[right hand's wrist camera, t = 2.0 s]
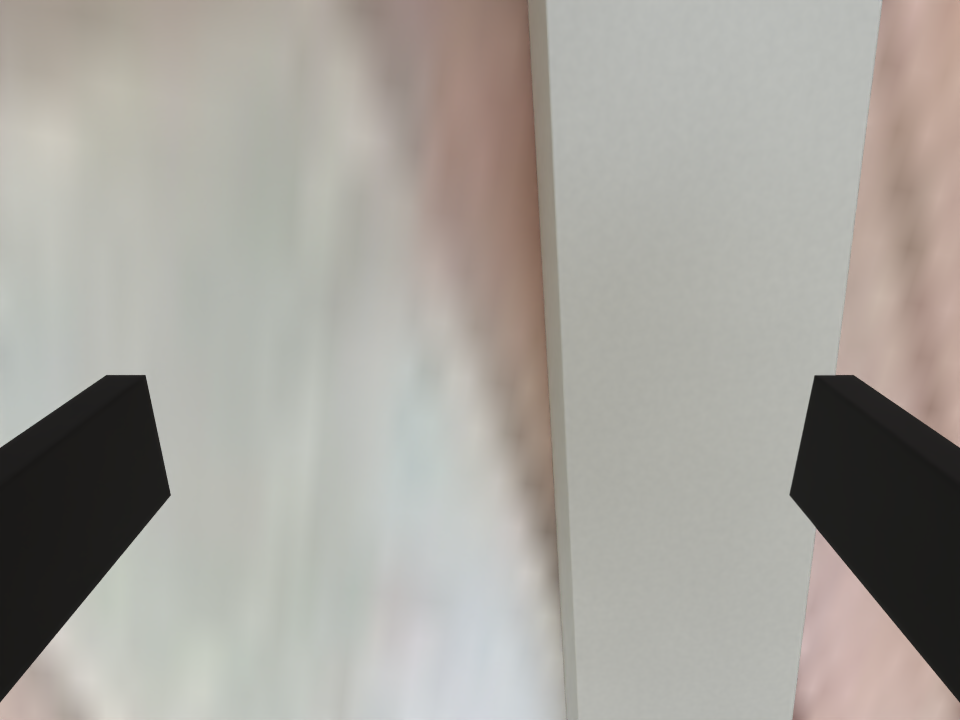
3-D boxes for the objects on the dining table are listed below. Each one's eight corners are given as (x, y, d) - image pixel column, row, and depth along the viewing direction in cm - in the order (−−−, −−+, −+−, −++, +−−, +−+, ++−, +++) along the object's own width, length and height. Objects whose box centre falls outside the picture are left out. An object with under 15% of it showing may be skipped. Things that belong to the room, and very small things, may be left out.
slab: (515, -217, 23) (529, -350, 16) (803, -250, 22) (933, -399, 16) (579, 953, 48) (593, 1079, 42) (712, 946, 48) (748, 1072, 42)
